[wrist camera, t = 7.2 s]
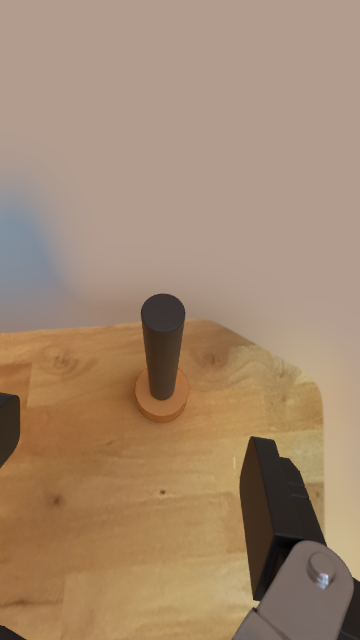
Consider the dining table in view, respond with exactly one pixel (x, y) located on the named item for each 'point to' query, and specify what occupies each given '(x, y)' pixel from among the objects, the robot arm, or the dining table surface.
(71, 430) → the dining table surface
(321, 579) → the robot arm
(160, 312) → the plunger
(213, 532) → the dining table surface
